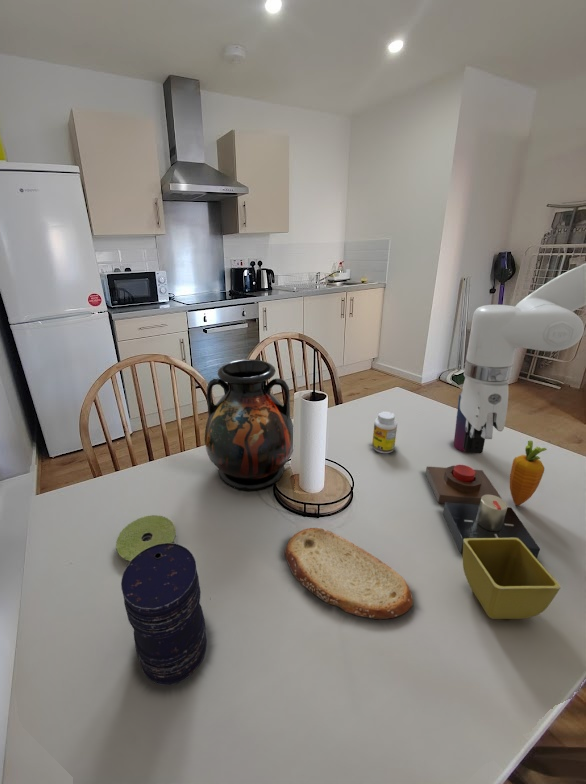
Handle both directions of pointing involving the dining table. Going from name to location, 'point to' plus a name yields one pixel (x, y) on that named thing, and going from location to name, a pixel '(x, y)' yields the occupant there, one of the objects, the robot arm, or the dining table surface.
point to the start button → (464, 473)
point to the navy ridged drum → (165, 612)
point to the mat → (144, 535)
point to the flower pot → (507, 578)
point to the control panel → (466, 526)
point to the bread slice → (347, 575)
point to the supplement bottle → (384, 432)
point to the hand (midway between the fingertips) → (472, 450)
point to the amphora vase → (249, 426)
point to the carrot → (526, 474)
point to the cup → (460, 428)
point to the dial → (491, 512)
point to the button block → (458, 486)
